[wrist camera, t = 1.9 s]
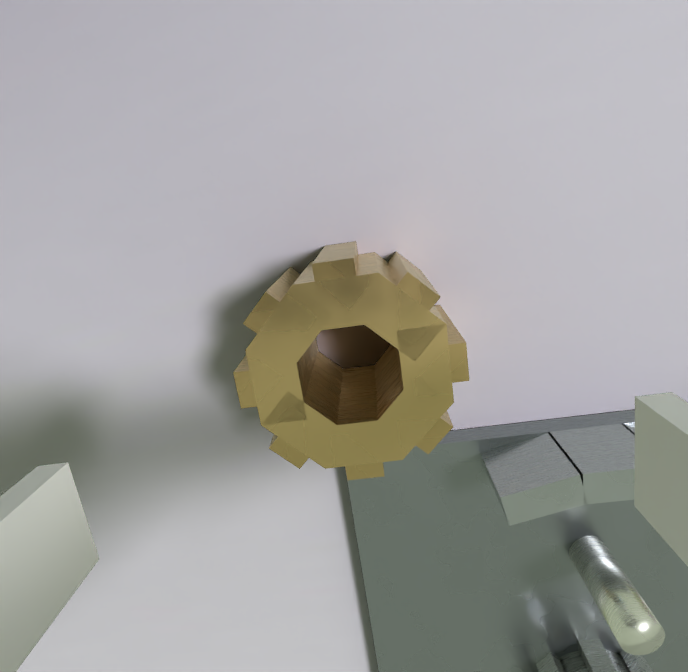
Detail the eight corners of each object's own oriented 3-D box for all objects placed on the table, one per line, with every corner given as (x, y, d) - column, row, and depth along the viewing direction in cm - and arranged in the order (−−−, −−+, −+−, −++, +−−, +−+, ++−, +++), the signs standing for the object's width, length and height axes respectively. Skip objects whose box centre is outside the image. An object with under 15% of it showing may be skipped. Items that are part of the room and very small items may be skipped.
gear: (251, 256, 22) (212, 278, 17) (432, 229, 22) (457, 242, 16) (283, 420, 25) (259, 490, 19) (449, 400, 24) (476, 466, 18)
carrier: (344, 443, 25) (337, 521, 19) (777, 393, 23) (920, 461, 17) (393, 743, 30) (400, 877, 24) (745, 719, 29) (845, 857, 23)
